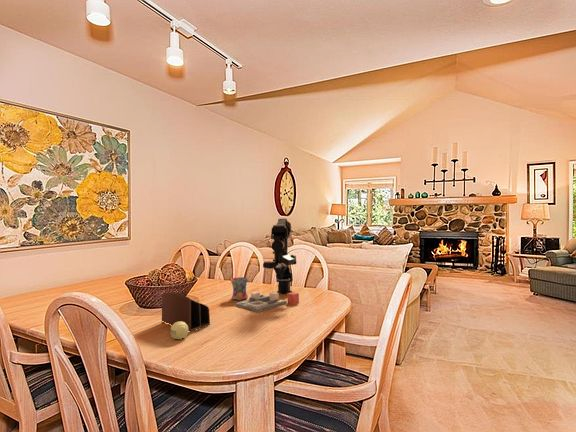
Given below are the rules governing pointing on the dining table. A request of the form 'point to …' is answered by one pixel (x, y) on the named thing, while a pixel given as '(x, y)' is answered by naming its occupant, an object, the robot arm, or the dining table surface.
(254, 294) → the switch
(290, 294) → the red block
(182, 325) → the tennis ball
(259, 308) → the breaker panel
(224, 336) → the dining table surface
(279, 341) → the dining table surface
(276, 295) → the switch
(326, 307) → the dining table surface
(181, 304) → the letter holder
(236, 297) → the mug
